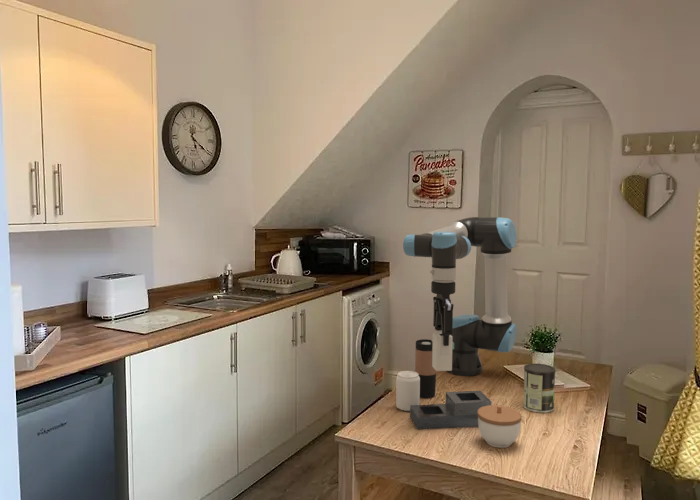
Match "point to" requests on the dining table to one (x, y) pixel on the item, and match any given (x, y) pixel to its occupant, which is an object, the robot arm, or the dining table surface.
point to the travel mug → (425, 368)
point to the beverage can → (407, 390)
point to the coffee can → (539, 388)
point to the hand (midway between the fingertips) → (442, 352)
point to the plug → (437, 360)
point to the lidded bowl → (499, 425)
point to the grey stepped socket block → (450, 411)
